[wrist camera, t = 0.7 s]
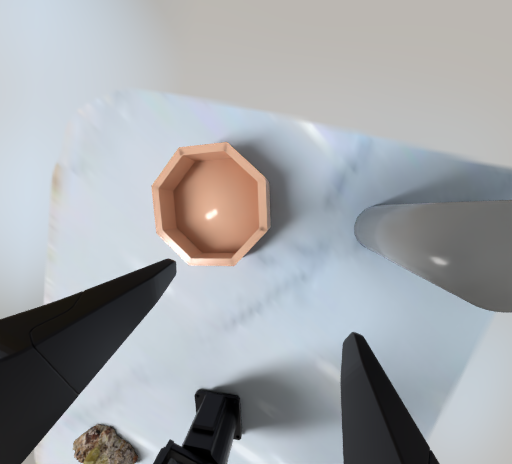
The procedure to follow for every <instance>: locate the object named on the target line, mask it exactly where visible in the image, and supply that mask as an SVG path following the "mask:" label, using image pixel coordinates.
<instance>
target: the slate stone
mask: <svg viewBox="0 0 512 464" xmlns="http://www.w3.org/2000/svg"><path fill="white" fill-rule="evenodd" d="M354 232H355V236H356V238H357V240H358V242H359V243H360V244H361V245H362V246H364V247H365V248H367V249H369V250H371V251H373V252H375V253H376V254H378V255H380V256H382V257H384V258H386V259H388V260H390V261H392V262H393V263H395V264H397V265H399V266H401V267H403V268H405V269H407V270H409V271H410V272H412V273H414V274H416V275H418V276H420V277H422V278H424V279H426V280H427V281H429V282H431V283H433V284H435V285H437V286H439V287H441V288H443V289H444V290H446V291H448V292H450V293H452V294H454V295H456V296H458V297H460V298H462V299H463V300H465V301H467V302H469V303H471V304H473V305H475V306H477V307H480V308H483V309H486V310H490V311H495V312H512V200H499V201H472V202H445V203H418V204H390V205H375V206H372V207H369V208H367V209H366V210H364V211H363V212H362V213H361V214H360V215H359V216H358V218H357V220H356V222H355V226H354Z"/></svg>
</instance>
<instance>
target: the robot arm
mask: <svg viewBox="0 0 512 464" xmlns="http://www.w3.org/2000/svg"><path fill="white" fill-rule="evenodd" d="M175 275H176V262H175V261H174V260H171V259H165V260H162V261H160V262H157V263H155V264H152V265H149V266H147V267H144V268H142V269H139V270H136V271H134V272H131V273H129V274H126V275H123V276H121V277H118V278H116V279H113V280H111V281H108V282H105V283H103V284H100V285H98V286H95V287H92V288H90V289H87V290H85V291H84V292H83V291H82V292H79V293H77V294H74V295H71V296H69V297H66V298H63V299H61V300H58V301H55V302H52V303H49V304H46V305H43V306H40V307H37V308H34V309H31V310H28V311H25V312H22V313H19V314H16V315H13V316H9V317H6V318H3V319H0V464H21V463H22V462H23V461H24V460H25V459H26V457H27V456H28V455H29V454H30V453H31V452H32V450H33V449H34V448H35V447H36V446H37V444H38V443H39V442H40V441H41V440H42V439H43V437H44V436H45V435H46V434H47V433H48V431H49V430H50V429H51V428H52V427H53V425H54V424H55V423H56V422H57V421H58V420H59V418H60V417H61V416H62V415H63V414H64V412H65V411H66V410H67V409H68V408H69V406H70V405H71V404H72V403H73V402H74V401H75V399H76V398H77V397H78V396H79V394H80V393H81V392H82V391H83V390H84V388H85V387H86V386H87V385H88V384H89V383H90V381H91V380H92V379H93V378H94V377H95V375H96V374H97V373H98V372H99V371H100V370H101V368H102V367H103V366H104V365H105V364H106V362H107V361H108V360H109V359H110V358H111V356H112V355H113V354H114V353H115V352H116V351H117V349H118V348H119V347H120V346H121V345H122V343H123V342H124V341H125V340H126V339H127V337H128V336H129V335H130V334H131V333H132V332H133V330H134V329H135V328H136V327H137V326H138V324H139V323H140V322H141V321H142V320H143V318H144V317H145V316H146V315H147V314H148V313H149V311H150V310H151V309H152V308H153V307H154V305H155V304H156V303H157V302H158V300H159V299H160V297H161V296H162V295H163V293H164V292H165V290H166V289H167V287H168V286H169V284H170V283H171V281H172V280H173V278H174V277H175ZM195 403H196V416H195V418H194V420H193V423H192V425H191V427H190V429H189V431H188V434H187V436H186V438H185V440H184V442H183V444H182V447H181V446H179V445H177V444H175V443H174V441H172V440H169V442H168V443H167V445H166V447H164V448H162V449H161V450H160V452H159V454H158V456H157V457H156V459H155V461H154V463H153V464H227V462H228V458H229V454H230V450H231V446H232V442H233V439H236V440H240V439H241V436H242V427H241V410H240V398H239V397H238V396H235V395H228V394H221V393H214V392H207V391H200V390H198V391H197V392H196V393H195ZM341 408H342V432H343V457H344V464H439V462H438V461H437V459H436V457H435V455H434V454H433V452H432V451H431V450H430V447H429V446H428V444H427V442H426V440H425V439H424V437H423V435H422V434H421V432H420V430H419V429H418V427H417V425H416V424H415V422H414V420H413V419H412V417H411V415H410V414H409V412H408V410H407V409H406V407H405V405H404V404H403V402H402V400H401V399H400V397H399V395H398V394H397V392H396V390H395V389H394V387H393V385H392V383H391V382H390V380H389V378H388V377H387V375H386V373H385V372H384V370H383V368H382V367H381V365H380V363H379V362H378V360H377V358H376V357H375V355H374V353H373V352H372V350H371V348H370V347H369V345H368V343H367V342H366V340H365V338H364V337H363V336H362V335H360V334H358V333H355V332H352V333H351V334H350V335H349V336H348V337H347V338H346V339H345V340H344V342H343V349H342V365H341Z"/></svg>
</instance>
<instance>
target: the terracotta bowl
mask: <svg viewBox="0 0 512 464" xmlns="http://www.w3.org/2000/svg"><path fill="white" fill-rule="evenodd" d="M152 196H153V205H154V215H155V224H156V233H157V234H158V235H159V236H160V237H161V238H162V239H163V240H164V241H165V242H166V243H167V244H168V245H169V246H170V247H171V248H172V249H173V250H174V251H175V252H176V253H177V254H178V255H179V256H180V257H181V258H182V259H183V260H184V261H185V262H186V263H187V264H188V265H197V266H235V265H236V264H237V263H238V262H239V261H240V259H241V258H242V257H243V256H244V255H245V254H246V253H247V252H248V251H249V250H250V249H251V248H252V247H253V246H254V245H255V244H256V243H257V242H258V241H259V239H260V238H261V237H262V236H263V235H264V234H265V233H266V232H267V231H268V230H269V229H270V228H271V216H270V186H269V181H268V180H267V179H266V178H265V177H264V176H263V175H262V174H261V173H260V172H259V171H258V170H257V169H256V168H254V167H253V166H252V165H251V164H250V163H249V162H248V161H247V160H246V159H245V158H244V157H243V156H242V155H240V154H239V153H238V152H237V151H236V150H235V149H234V148H233V147H232V146H231V145H230V144H229V143H227V142H223V143H214V144H205V145H196V146H188V147H179V148H178V150H177V151H176V152H175V154H174V155H173V157H172V158H171V159H170V161H169V162H168V164H167V165H166V166H165V168H164V169H163V171H162V172H161V173H160V175H159V176H158V178H157V179H156V180H155V182H154V183H153V185H152Z"/></svg>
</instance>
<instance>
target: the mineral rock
mask: <svg viewBox="0 0 512 464" xmlns="http://www.w3.org/2000/svg"><path fill="white" fill-rule="evenodd" d="M73 450H75V454H74V458H77V460H78V461H79V462H81V463H84V464H134V463H135V462H136V461H137V459H138V456H137V454H135V452H134V448H133V447H132V446H131V445H130V444H129V443H128V442H126V441H125V440H123V439H121V438H120V437H118V436H117V434H116V433H115V430H114V429H112V428H111V427H109V426H102V425H100V424H99V425H96V426H94V427H92V428H91V429H89V430H88V431H87V432H85V433H83V434H82V435H81V436H80V437H79V438H77V439H76V440H75V441H74V443H73Z"/></svg>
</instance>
